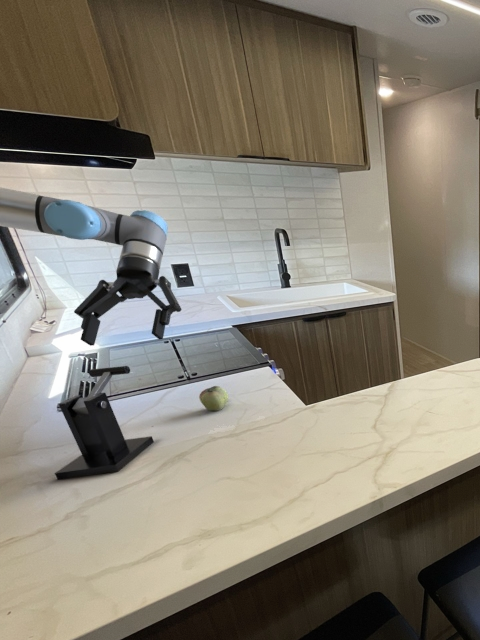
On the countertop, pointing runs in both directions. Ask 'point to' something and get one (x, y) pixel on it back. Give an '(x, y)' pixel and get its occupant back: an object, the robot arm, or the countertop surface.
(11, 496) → the countertop surface
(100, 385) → the lever
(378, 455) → the countertop surface
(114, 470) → the black lever stand
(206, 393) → the apple
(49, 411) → the countertop surface
